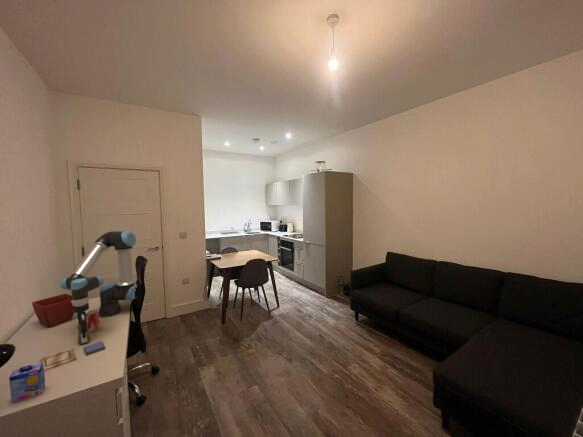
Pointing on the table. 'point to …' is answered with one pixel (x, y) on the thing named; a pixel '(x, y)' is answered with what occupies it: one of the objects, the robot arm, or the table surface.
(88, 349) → the ink pad
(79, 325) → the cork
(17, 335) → the table surface
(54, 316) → the plant pot
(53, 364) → the board
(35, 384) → the ink cartridge box
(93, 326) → the soda can
